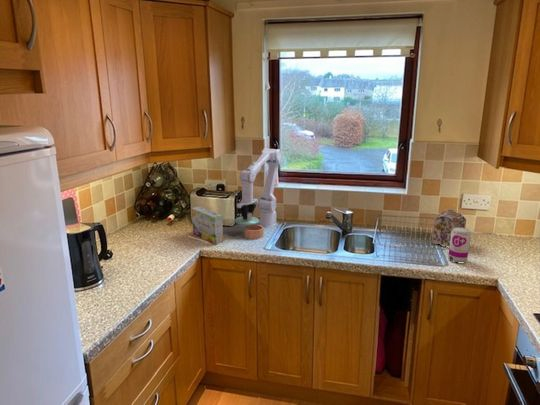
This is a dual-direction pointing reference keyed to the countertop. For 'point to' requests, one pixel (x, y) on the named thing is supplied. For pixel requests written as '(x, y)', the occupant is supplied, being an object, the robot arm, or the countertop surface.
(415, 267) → the countertop surface
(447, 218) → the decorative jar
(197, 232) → the snack box
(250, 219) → the lid
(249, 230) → the bucket
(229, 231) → the mat
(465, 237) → the supplement can
